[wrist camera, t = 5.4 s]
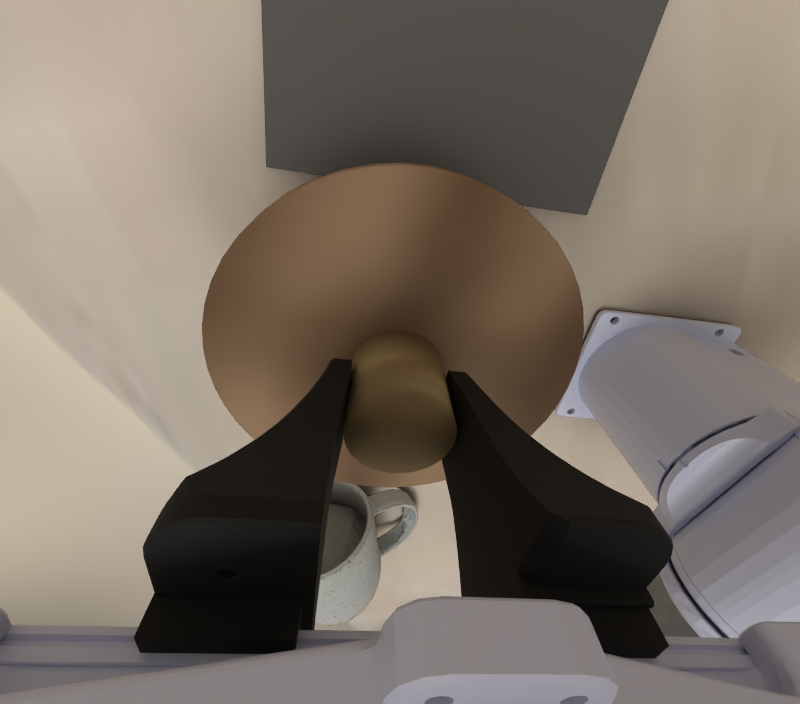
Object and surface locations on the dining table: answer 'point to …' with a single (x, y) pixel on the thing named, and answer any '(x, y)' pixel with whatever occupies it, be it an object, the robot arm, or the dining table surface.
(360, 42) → the rubber mat
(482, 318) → the walnut cover
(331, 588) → the ceramic mug
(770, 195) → the dining table surface
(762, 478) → the robot arm
